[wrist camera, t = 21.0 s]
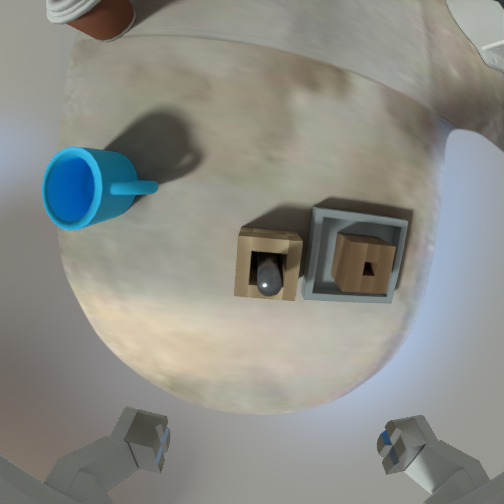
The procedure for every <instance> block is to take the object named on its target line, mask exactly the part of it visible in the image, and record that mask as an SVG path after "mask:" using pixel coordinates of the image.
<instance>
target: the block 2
mask: <svg viewBox="0 0 504 504" xmlns="http://www.w3.org/2000/svg"><path fill="white" fill-rule="evenodd" d="M395 249H396V247H395V246H393V245H392V244H390V243H388V242H386V241H384V240H382V239H381V238H379V237H376V236H368V235H359V234H350V233H341V232H337V237H336V244H335V250H334V257H333V263H332V269H331V276H332V278H333V279H334V281H335V282H336V283H337V285H338V286H339V288H340V289H341V290H342V292H361V293H381V294H386V291H387V287H388V283H389V278H390V274H391V269H392V264H393V260H394V255H395Z"/></svg>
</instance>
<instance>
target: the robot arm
mask: <svg viewBox="0 0 504 504" xmlns="http://www.w3.org/2000/svg"><path fill="white" fill-rule="evenodd" d="M446 1H447V5H448V8H449V10H450V12H451V14H452V16H453V18H454V19H455V21H456V23H457V24H458V25H459V27H460V28H461V30H462V31H463V32H464V34H465V35H466V36H467V37H468V38H469V39H470V41H471V42H472V43H473V44H474V45H475V47H476V48H477V50H478V52H479V53H480V55H481V57H482V59H483V60H484V62H485V63H486V64H487V65H488V66H490V67H492V68H495V69H497V70H499V71H501V72H503V73H504V0H446ZM167 424H168V419H167V416H164V415H160V414H156V413H152V412H147V411H143V410H140V409H136V408H132V407H129V406H127V407H126V408H125V409H124V410H123V412H122V413H121V415H120V417H119V419H118V421H117V423H116V425H115V427H114V429H113V431H112V433H111V435H110V436H104V437H102V438H100V439H98V440H96V441H94V442H92V443H90V444H88V445H86V446H84V447H82V448H80V449H78V450H76V451H73V452H71V453H69V454H67V455H65V456H62V457H60V458H58V459H57V461H56V463H55V465H54V466H53V468H52V470H51V471H50V473H49V475H48V476H47V478H46V480H45V482H44V483H43V482H41V481H40V480H38V479H36V478H35V477H33V476H31V475H30V474H28V473H27V472H25V471H24V470H22V469H21V468H19V467H18V466H16V465H15V464H13V463H12V462H10V461H9V460H8V459H6V458H5V457H3V456H2V455H1V454H0V504H114V502H113V501H112V500H111V499H110V497H109V496H108V495H107V492H108V491H110V490H111V489H113V488H114V487H116V486H117V485H118V484H120V483H121V482H122V481H124V480H125V479H127V478H128V477H129V476H131V475H132V474H133V473H135V472H136V471H137V470H138V468H139V469H143V470H147V471H152V472H156V473H161V471H162V468H163V465H164V461H165V459H164V455H163V454H164V453H166V452H167V451H168V448H169V444H170V429H169V428H168V427H167ZM385 429H386V430H385V431H384V432H383V433H381V434H380V436H379V438H378V441H377V450H378V453H379V455H381V456H382V457H383V458H384V459H383V462H382V464H383V466H384V469H385V472H386V474H392V473H397V472H401V471H405V473H406V474H407V475H409V476H410V477H411V478H412V479H413V480H415V481H416V482H417V483H418V484H419V485H421V486H422V487H423V488H424V489H425V490H427V491H428V492H429V493H430V494H432V495H431V496H430V497H429V498H428V499H426V500H425V501H424V503H423V504H504V472H503V473H501V474H499V475H498V476H496V477H495V478H493V479H492V480H490V479H489V477H488V476H487V474H486V472H485V470H484V469H483V467H482V465H481V464H480V462H479V460H477V459H475V458H473V457H471V456H469V455H467V454H465V453H463V452H462V451H460V450H458V449H456V448H454V447H452V446H451V445H449V444H447V443H445V442H443V441H442V440H440V441H438V439H437V438H436V436H435V434H434V433H433V431H432V429H431V427H430V426H429V424H428V422H427V421H426V419H425V417H424V416H423V415H418V416H413V417H407V418H401V419H396V420H391V421H389V422H388V423H387V424H386V426H385Z"/></svg>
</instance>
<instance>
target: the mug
mask: <svg viewBox="0 0 504 504" xmlns="http://www.w3.org/2000/svg"><path fill="white" fill-rule="evenodd" d="M157 189H158V184H157V182H156V181H148V180H137V173H136V170H135V168H134V165H133V164H132V162H131V161H130V160H129V159H128V157H126V156H125V155H123V154H121V153H120V152H113V151H106V150H99V149H91V148H82V147H73V146H71V147H68V148H65V149H62V150H61V151H60V152H58V153H57V154H56V155H55V156H54V157H53V158H52V160H51V161H50V163H49V164H48V166H47V168H46V171H45V174H44V176H43V183H42V197H43V203H44V206H45V209H46V212H47V214H48V215H49V217H50V218H51V220H52V221H53V222H54V223H55V224H56V225H57V226H59V227H60V228H62V229H66V230H69V231H70V230H78V229H81V228H84V227H87V226H90V225H93V224H96V223H99V222H102V221H105V220H108V219H112V218H115V217H117V216H119V215H121V214H123V213H125V211H126V210H127V209H128V208H129V207H130V206H131V205H132V203H133V201H134V199H135V197H136V195H137V194H152V193H155V192H156V191H157Z"/></svg>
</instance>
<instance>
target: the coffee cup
mask: <svg viewBox="0 0 504 504" xmlns="http://www.w3.org/2000/svg"><path fill="white" fill-rule="evenodd" d="M46 7H47V18H48V19H49V20H50V21H51V22H52V23H54V24H65V23H66V24H68V25H70V26H72V27H74V28H76V29H78V30H80V31H82V32H84V33H86V34H88V35H89V36H91V37H93V38H95V39H97V40H98V41H100V42H110V41H114V40H116V39H118V38H120V37H121V36H123V35H124V34H125V33H126V32H127V31H128V30H129V29H130V28H131V27H132V25H133V24H134V22H135V18H136V12H135V10H134V9H133V7H132V5H131V4H130V2H129V0H46Z"/></svg>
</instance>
